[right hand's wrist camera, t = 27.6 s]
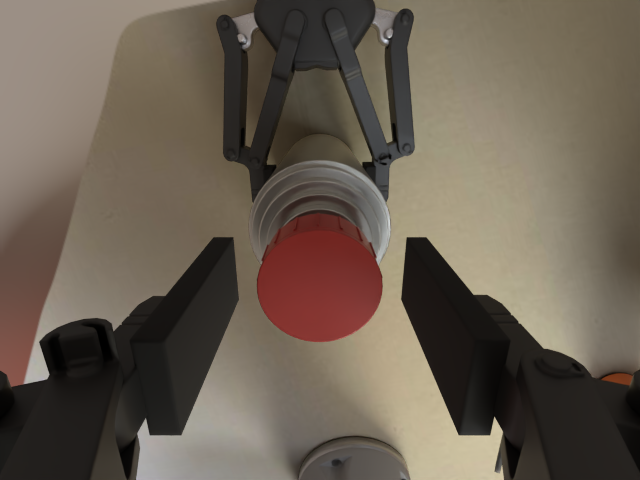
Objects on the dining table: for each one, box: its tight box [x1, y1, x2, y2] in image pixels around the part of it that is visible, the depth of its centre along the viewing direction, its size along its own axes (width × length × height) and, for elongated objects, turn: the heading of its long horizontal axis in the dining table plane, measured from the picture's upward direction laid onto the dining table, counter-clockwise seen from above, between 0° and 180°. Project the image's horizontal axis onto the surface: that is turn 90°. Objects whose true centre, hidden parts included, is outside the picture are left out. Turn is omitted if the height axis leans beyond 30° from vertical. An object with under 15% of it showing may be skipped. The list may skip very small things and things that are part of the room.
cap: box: [257, 213, 383, 342], centre depth 14 cm, size 4×4×2 cm
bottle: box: [249, 134, 391, 265], centre depth 25 cm, size 7×7×24 cm
